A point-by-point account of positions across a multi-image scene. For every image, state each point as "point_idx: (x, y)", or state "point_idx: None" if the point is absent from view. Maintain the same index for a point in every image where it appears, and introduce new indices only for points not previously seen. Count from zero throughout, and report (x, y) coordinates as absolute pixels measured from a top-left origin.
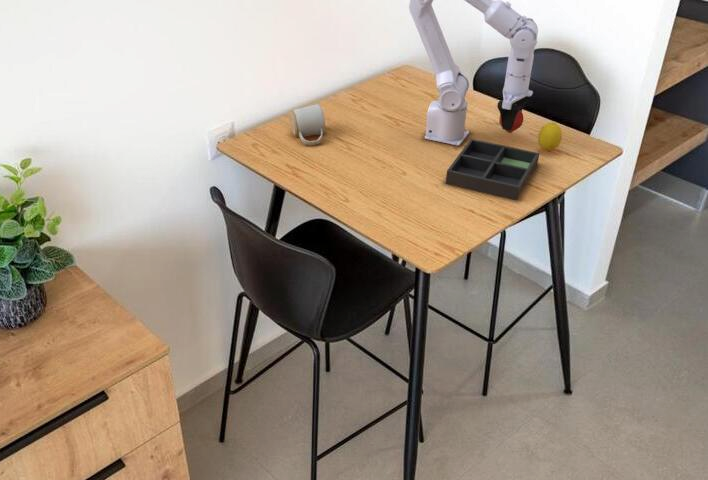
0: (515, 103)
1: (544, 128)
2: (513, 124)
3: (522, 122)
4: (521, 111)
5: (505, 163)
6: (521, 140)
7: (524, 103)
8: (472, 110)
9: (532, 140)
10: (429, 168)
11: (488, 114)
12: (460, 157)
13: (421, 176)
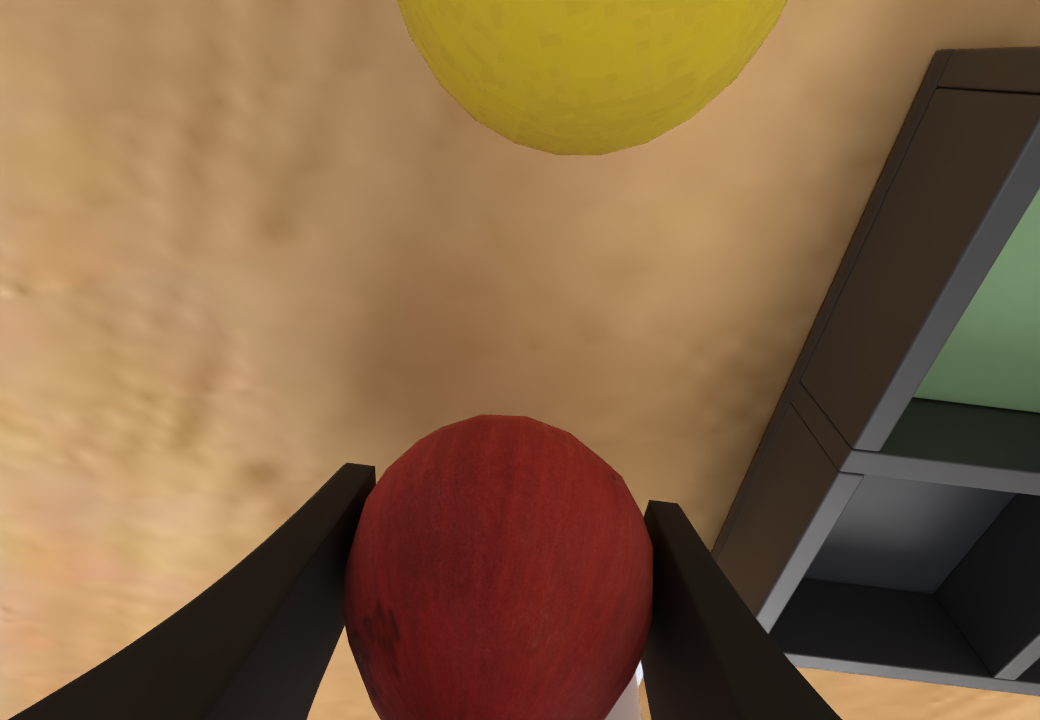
0: (283, 711)
1: (696, 77)
2: (645, 537)
3: (534, 448)
4: (300, 525)
5: (944, 362)
6: (432, 288)
7: (220, 643)
8: (184, 603)
9: (390, 192)
10: (935, 686)
11: (170, 533)
12: (1034, 677)
13: (1026, 702)
